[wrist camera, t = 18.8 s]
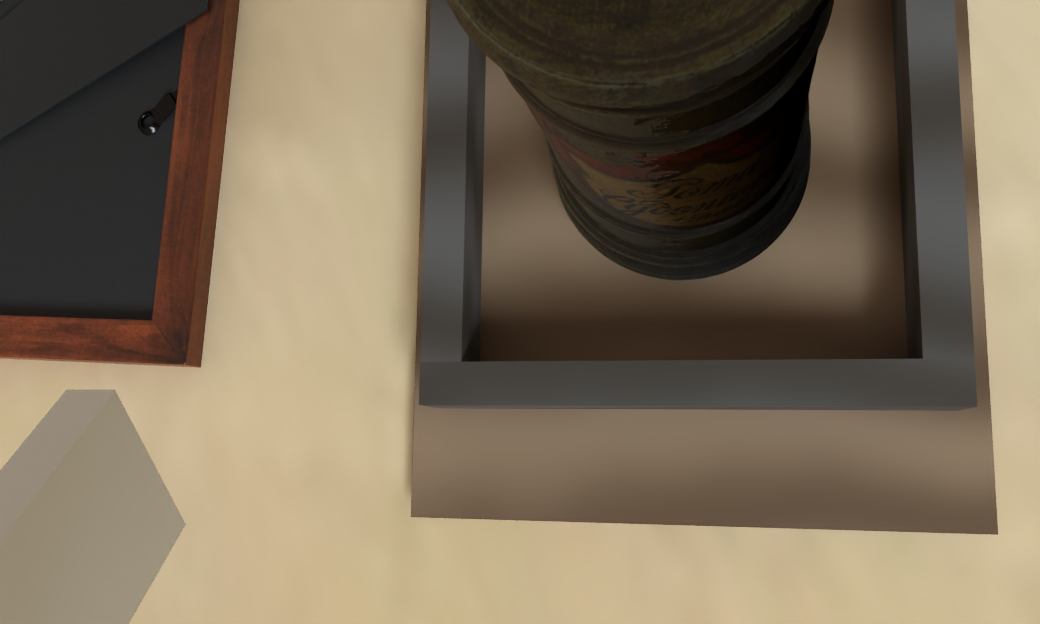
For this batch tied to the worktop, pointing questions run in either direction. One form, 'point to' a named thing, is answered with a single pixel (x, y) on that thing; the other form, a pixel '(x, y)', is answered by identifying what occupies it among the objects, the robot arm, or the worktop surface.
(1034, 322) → the worktop surface
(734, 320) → the holder
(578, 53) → the container
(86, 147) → the picture frame
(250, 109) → the worktop surface
